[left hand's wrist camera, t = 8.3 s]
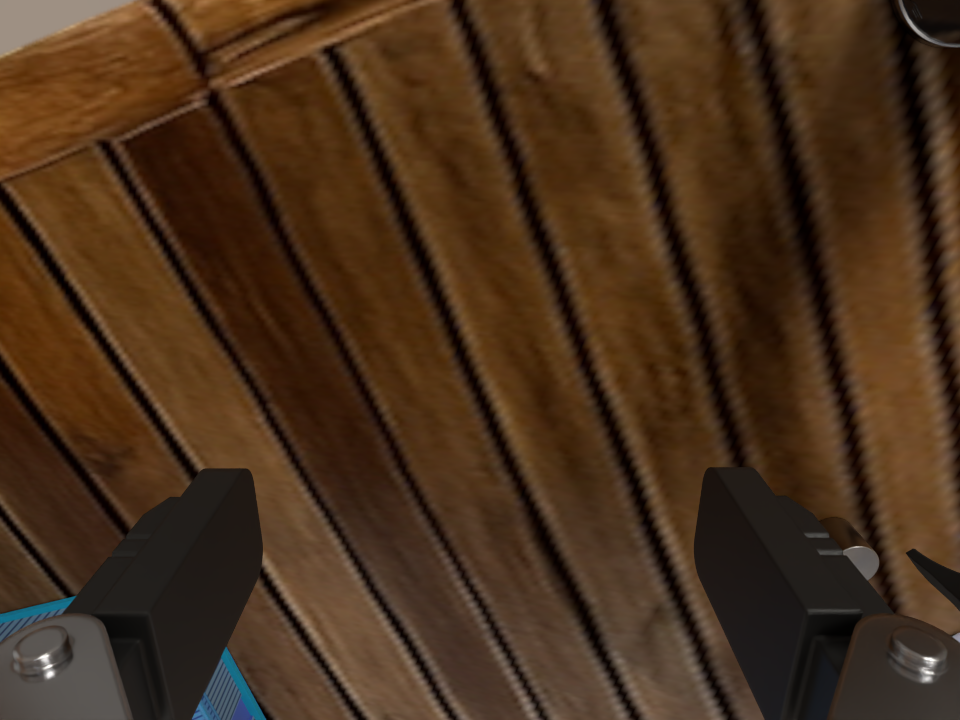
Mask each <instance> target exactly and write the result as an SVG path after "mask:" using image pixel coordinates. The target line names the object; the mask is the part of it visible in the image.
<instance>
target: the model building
mask: <svg viewBox="0 0 960 720" xmlns="http://www.w3.org/2000/svg"><path fill="white" fill-rule="evenodd" d="M75 597H76V596H74V597H70V598H65V599H61V600H57V601H53V602H49V603H45V604H41V605H36V606H32V607H28V608H24V609H20V610H16V611H12V612H7V613H3V614H0V642H1V641H3V640H4V639H5V638H7V637H8V636H10V635H11V634H13V633H15V632H16V631H18V630H20V629H22V628H24V627H25V626H27V625H30V624H32V623H34V622H37V621H39V620H42V619H45V618H48V617H52V616H57V615H61V614H62V613H63V612H64V611H65V609H66V608H67V607H68V606H69V604H70V603H71V602H72V601H73V600H74V598H75ZM192 720H266V718H265V716H264V715H263V713H262V711H261V709H260V707H259V706H258V704H257V702H256V700H255V698H254V696H253V695H252V693H251V691H250V689H249V687H248V685H247V684H246V682H245V680H244V678H243V676H242V674H241V673H240V671H239V669H238V667H237V665H236V664H235V662H234V660H233V658H232V656H231V654H230V653H229V651H228V649H227V647H226V648H225V650H224V652H223V654H222V656H221V658H220V660H219V662H218V665H217V667H216V669H215V671H214V673H213V675H212V677H211V679H210V682H209V684H208V686H207V688H206V690H205V692H204V694H203V696H202V699H201V701H200V703H199V705H198V707H197V709H196V711H195V714H194V716H193V718H192Z"/></svg>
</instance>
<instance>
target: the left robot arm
mask: <svg viewBox="0 0 960 720" xmlns="http://www.w3.org/2000/svg"><path fill="white" fill-rule="evenodd" d="M891 4H892V7H893V10H894V13H895V15H896V17H897V19H898V21H899V23H900V24H901V26H902V27H903V28H904V29H905V31H906V32H907V33H908V34H909V35H911V36H912V37H913V38H915V39H916V40H918V41H920V42H921V43H924V44H926V45H929V46H932V47H937V48H959V47H960V0H891ZM262 556H263V543H262V535H261V528H260V522H259V515H258V508H257V501H256V494H255V487H254V481H253V477H252V474H251V472H250V471H249V470H248V469H203V470H201V471H200V472H199V473H198V475H197V476H196V477H195V479H194V480H193V481H192V483H191V484H190V485H189V486H188V488H187V489H186V490H185V492H184V493H183V494H182V496H181V497H169V498H168V499H166V500H165V501H163V502H162V503H160V504H159V505H157V506H156V507H154V508H153V509H151V510H150V511H148V512H147V513H145V514H144V515H143V516H142V517H141V518H140V519H139V521H138V522H137V523H136V524H135V526H134V527H133V528H132V529H131V530H130V532H129V533H128V534H127V538H126V539H123V540H122V541H121V543H120V544H119V545H118V546H117V547H116V549H115V550H114V551H113V552H112V557H108V558H107V560H106V561H105V562H104V563H103V564H102V566H101V567H100V568H99V569H98V570H97V572H96V573H95V574H94V575H93V577H92V578H91V579H90V580H89V581H88V583H87V584H86V585H85V586H84V587H83V589H82V590H81V591H80V592H79V594H78V595H77V596H76V597H75V598H74V600H73V601H72V602H71V603H70V604H69V606H68V607H67V608H66V609H65V611H64V612H63V613H62V614H61V615H57V616H52V617H48V618H45V619H42V620H39V621H37V622H34V623H32V624H30V625H27V626H25V627H24V628H22V629H20V630H18V631H16V632H15V633H13V634H11V635H10V636H8V637H7V638H5V639H4V640H3V641H1V642H0V720H192V718H193V716H194V714H195V711H196V709H197V707H198V705H199V703H200V701H201V699H202V696H203V694H204V692H205V690H206V688H207V686H208V684H209V682H210V679H211V677H212V675H213V673H214V671H215V669H216V667H217V665H218V662H219V660H220V658H221V656H222V654H223V652H224V650H225V648H226V645H227V643H228V641H229V639H230V637H231V635H232V633H233V631H234V628H235V626H236V624H237V622H238V620H239V618H240V616H241V614H242V611H243V609H244V607H245V605H246V603H247V601H248V599H249V596H250V594H251V592H252V590H253V588H254V586H255V584H256V582H257V579H258V577H259V574H260V570H261V565H262ZM694 558H695V565H696V569H697V573H698V576H699V579H700V581H701V583H702V585H703V587H704V590H705V592H706V594H707V596H708V598H709V600H710V603H711V605H712V607H713V609H714V611H715V613H716V615H717V618H718V620H719V622H720V624H721V626H722V628H723V631H724V633H725V635H726V637H727V639H728V641H729V643H730V646H731V648H732V650H733V652H734V654H735V656H736V659H737V661H738V663H739V665H740V667H741V669H742V671H743V674H744V676H745V678H746V680H747V682H748V684H749V687H750V689H751V691H752V693H753V695H754V697H755V699H756V702H757V704H758V706H759V708H760V710H761V712H762V715H763V717H764V719H765V720H960V642H959V641H957V640H956V639H955V638H953V637H952V636H950V635H949V634H947V633H945V632H944V631H942V630H940V629H938V628H936V627H935V626H933V625H930V624H928V623H926V622H923V621H921V620H918V619H915V618H912V617H908V616H903V615H898V614H894V613H893V611H892V610H891V609H890V608H889V607H888V605H887V604H886V603H885V602H884V600H883V599H882V598H881V597H880V596H879V594H878V593H877V592H876V591H875V589H874V588H873V587H872V586H871V584H870V583H869V582H868V581H867V580H866V578H865V577H864V576H863V575H862V573H861V572H860V571H859V570H858V569H857V567H856V566H855V565H854V564H853V562H852V561H851V560H850V559H849V558H848V556H847V555H843V550H842V549H841V548H840V547H839V545H838V544H837V543H836V542H835V540H834V539H833V538H830V537H829V533H828V532H827V531H826V529H825V528H824V527H823V526H822V524H821V523H820V522H819V521H818V520H817V518H816V517H815V516H814V515H813V513H811V512H810V511H808V510H807V509H805V508H804V507H802V506H801V505H799V504H798V503H796V502H795V501H793V500H792V499H790V498H789V497H787V496H775V494H774V493H773V492H772V490H771V489H770V488H769V487H768V485H767V484H766V483H765V481H764V480H763V479H762V477H761V476H760V475H759V473H758V472H757V471H756V470H755V469H754V468H751V467H710V468H708V469H707V470H706V472H705V474H704V478H703V483H702V490H701V497H700V504H699V511H698V518H697V525H696V532H695V539H694Z"/></svg>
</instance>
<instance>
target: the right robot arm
mask: <svg viewBox="0 0 960 720" xmlns="http://www.w3.org/2000/svg"><path fill="white" fill-rule="evenodd" d="M906 554H907V555H908V557H909V558H910V559H911V561H912V562H913V564H914V565H915V566H916V568H917V569H918V570H919V571H920V572H921V574H922V575H923V576H924V577H925V578H926V579H927V580H928V581H929V582H930V583H931V584H932V585H933V586H934V587H935V588H936V589H938V590H939V591H940V592H941V593H942V594H943V595H944V596H945V597H946V598H947V599H949V600H950V601H951V602H952V603H953V604H954V605H955V606H956V607H957V609H958V610H959V611H960V573H958V572H956V571H953V570H951V569H948V568H946V567H944V566H942V565H940V564H938V563H936V562H934V561H932V560H931V559H929V558H927V557H926V556H924V555H922V554H921V553H920V552H918V551H917V550H916V549H912V550H910V551H908V552H906ZM952 637H953V638H955V639H956V640H957V641H959V642H960V633H958V634H956V635H954V636H952Z"/></svg>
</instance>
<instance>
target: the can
mask: <svg viewBox="0 0 960 720" xmlns="http://www.w3.org/2000/svg"><path fill="white" fill-rule="evenodd" d="M820 523H821V524H822V526H823V527H824V528H825V529H826V531H827V532H828V533H829V537H830V538H833V539H834V540H835V542H836V543H837V544H838V545H839V547H840V548H841V549H842V550H843V555H847V556H848V558H849V559H850V560H851V561H852V562H853V564H854V565H855V566H856V567H857V569H858V570H859V571H860V572H861V573H862V575H863V576H864V577H865V578H866V580H869V579H870V578H871V577H872V576H873V575H874V574H875V573H876V571H877V569H878V566H879V558H878V555H877V554H876V553H875V551H874V550H873V549H872V548H871V547H870V546H869V545H868V543H867V542H866V541H865V540H864V539H863V538H862V537H861V536H860V534H859V533H858V532H857V531H856V530H855V529H854V528H853V526H852V525H851V524H850V523H849V522H848V521H846V520H844V519H841V518H835V517H834V518H827V519H824V520H822V521H820Z"/></svg>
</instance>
